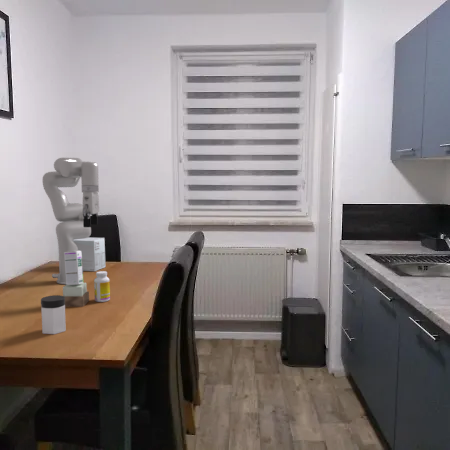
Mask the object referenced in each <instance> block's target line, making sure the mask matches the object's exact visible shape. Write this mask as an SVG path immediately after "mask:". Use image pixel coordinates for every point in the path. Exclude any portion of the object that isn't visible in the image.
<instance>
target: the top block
mask: <svg viewBox="0 0 450 450" xmlns="http://www.w3.org/2000/svg"><path fill="white" fill-rule="evenodd" d="M87 287H88V285H87V282H84V283H81V284H79V285H66V284H64V285H63V287H62V296H83V295H84V294H85V293H86V292H87V291H88V289H87Z"/></svg>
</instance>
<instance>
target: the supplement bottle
mask: <svg viewBox="0 0 450 450" xmlns="http://www.w3.org/2000/svg"><path fill="white" fill-rule="evenodd" d="M95 272H96V273H95V276H96V277H95V278H94V279H93V280H94V281H93V284H94V285H93V286H94V287H93V288H94V290H93V291H94V301H95V302H97V303H105V302H108V301H110V300H111V287H110V285H111V283H110V282H111V281H110V280H111V279H110V278H109V277H108V276H107V275H108V271H106V270H105V271H104V270H102V271H101V270H98V271H95Z"/></svg>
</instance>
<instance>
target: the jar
mask: <svg viewBox="0 0 450 450" xmlns="http://www.w3.org/2000/svg"><path fill="white" fill-rule="evenodd" d="M40 306H41V309H40V310H41V325H42V326H41V327H42V328H41V329H42V330H41V331H42V334H45V335H57V334H60V333H64V332H66V330H67V329H66V327H67V326H66V306H65V297H64V296H63V295H58V294H57V295H56V294H55V295H54V294H53V295H48V296H44V297H42V298H41V299H40Z"/></svg>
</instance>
